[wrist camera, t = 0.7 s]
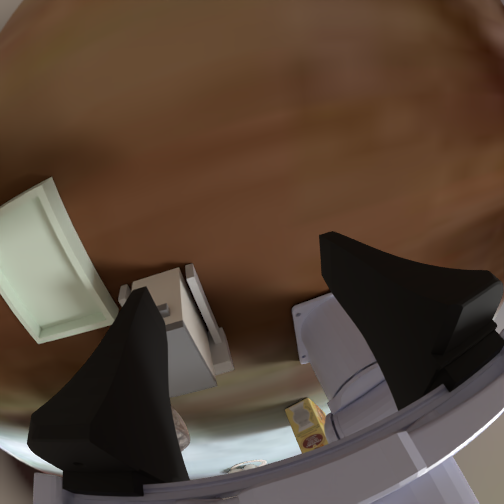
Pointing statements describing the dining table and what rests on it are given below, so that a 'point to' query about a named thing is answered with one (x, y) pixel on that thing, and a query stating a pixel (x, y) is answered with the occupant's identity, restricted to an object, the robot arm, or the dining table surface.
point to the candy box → (307, 425)
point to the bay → (215, 334)
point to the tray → (49, 268)
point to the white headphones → (246, 466)
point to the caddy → (181, 333)
